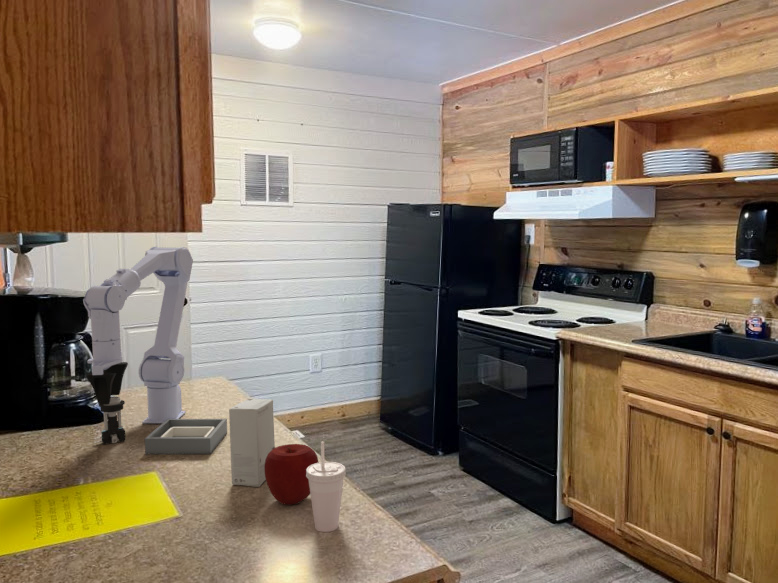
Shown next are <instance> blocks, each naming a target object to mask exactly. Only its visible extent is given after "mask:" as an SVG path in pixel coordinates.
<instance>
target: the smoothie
mask: <svg viewBox="0 0 778 583" xmlns="http://www.w3.org/2000/svg"><path fill="white" fill-rule="evenodd" d="M318 462H319V463H315V464H312V465H310V466H309V467H308V468H307V469H306V477H307V478H308V480H309V488H310V500H311V507H312V515H313V521H314V528H315V530H316V531H318V532H321V533H329V532H333V531H335V530H337V529H338V527H339V520H340V512H341V504H342V503H341V502H342V495H343V486H344V478H345V477H346V475H347V472H346V466H345V465H343V464H342V463H340V462H335V461H325V441H320V461H318Z"/></svg>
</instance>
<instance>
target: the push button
mask: <svg viewBox="0 0 778 583" xmlns="http://www.w3.org/2000/svg"><path fill="white" fill-rule="evenodd" d="M125 403H126V402H125V400H122V399H121V396H111V399H110V403H109V404H108V405H99V404H98V407H99V408H100V412H101V413H103V423H104V424H103V425H104V426H103V428H102V431H101V433H100V434H101V435H100V436H98V437H94V438H93V440H98V439H101V440H98V441H94V442H93V443H94V444H99V443H102V444H103V445H107V444H106V443H109V444H115V443H118V442H117V441H120V442H122V441H123V442H126V441H127V440H126V430H125V428H123V427H124V426H123V425H122V410H124V405H125Z"/></svg>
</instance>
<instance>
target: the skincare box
mask: <svg viewBox="0 0 778 583" xmlns="http://www.w3.org/2000/svg"><path fill="white" fill-rule="evenodd" d="M228 411H229V412H228V414H229V418H228V419H229V440H230V469H231V472H230V473H231V485H236V486H246V487H254V488H259V487H261V486H262V484H264V482H266V478H265V468H264V466H265V459H266V457H267V455H268V453H269V452H270V451H272V450H273V449H274V448H276V445H275V423H274V422H275V421H274V400H273V399H269V398H268V399H265V398H262V399H260V398H247V399H245V400H243V401H240V402H238V403H236V405H234V406H232V407H230V408H229V410H228Z"/></svg>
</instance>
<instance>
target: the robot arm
mask: <svg viewBox="0 0 778 583" xmlns="http://www.w3.org/2000/svg"><path fill="white" fill-rule="evenodd" d="M193 262H194V259H193V257H192V255H191V252H190V250H189V249H188V248H187V247H185V246H179V247H177V246H176V247H170V246H169V247H160V246H159V247H158V246H151V247H150V248H149V249H148V250H146V251H145V254H144V256H143V257H142V258H141V259H140V260H139V261H137V263H136V264H134V265H133V266H132V267H131V268H118V269H117V270H116V271H115V272H116V273H115V274H113V275H112V276H111V277H109V278H106V279H104V280H103V283H101V284H100V285H92V286H91V287H89V288H88V289H87V290H86V292H85V293H84V294H85V295H84V298H83V299H82V301H83V303H82V304H83V305H84V307H85V309H86V311H87V317H88V318H89V320H90V323H91V324H90V326H91V327H90V328H91V341H92V342H91V344H92V345H91V346H92V358H89V359H88V360H87V364H92V366H91V372H88V373H86V379H87V381H88V382H89V383H90V385H91V387H92V389H93V392H94V395H95V398H96V401H97V404H98V406H99V405H108V404H109V403H110V399H111V397H112V396H119V395H120V394H121V389H122V383H123V380H124V374H125V372H126V369H127V367H128V365H129V364H128V362H127V361H123V357H122V346H121V344H122V343H121V340H122V339H121V328H120V327H121V325H120V324H121V323H120V311H121V310H122V309H123V308H124V306H125V302H126V301H127V299H128V298H129V297H130V296H131V295H133V294H134V293H135V292H136V291H137V290H139V289H140V287H141V281H142V280H144V279H145V278H147V277H149V276H150V275H152V274H153V275H154V276H155V277H156V278H157V280H159V281H160V282H161V283H163V285H164V289H163V290H164V292H163V297H162V302H161V307H160V312H159V318H158V323H157V329H156V334H155V338H154V344H153V345H152V347H150V348H148V349H147V350H146V351H145V352H144V353H143V358H142V361H141V363H140V364H139V367H138V377H139V379H140V380H141V381H142V382H143V385H144V387H146V394H147V395H146V398H147V399H146V400H147V417H146V418H145V419H144V420H142V424H162V423H163V422H165V421H166V420H167V419H181V418H182V417H183V416H184V415H185V413H186V410H183V405H182V388H181V386H180V383H181V382H182V381H183V378H184V376H185V367H184V366H185V365H184V362H185V356H184V355H183V353H182V352H181V351H179V350H178V348H177V345H178V344H177V343H178V338H179V334H180V333H179V332H180V326H181V322H182V317H183V316H182V315H183V311H184V304H185V300H186V299H185V298H186V294H187V288H188V282H190V280H191V274H192V267H193Z"/></svg>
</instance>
